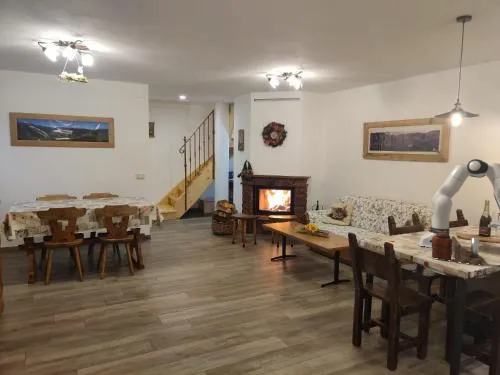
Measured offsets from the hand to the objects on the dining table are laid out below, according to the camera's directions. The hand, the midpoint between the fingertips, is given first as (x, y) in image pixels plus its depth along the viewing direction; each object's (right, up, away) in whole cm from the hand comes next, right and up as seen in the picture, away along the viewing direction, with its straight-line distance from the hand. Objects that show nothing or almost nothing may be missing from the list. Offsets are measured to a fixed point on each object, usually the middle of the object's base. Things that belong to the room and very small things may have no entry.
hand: (494, 227), depth 224 cm
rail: (-12, -22, +10) cm, 27 cm away
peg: (-13, -18, 0) cm, 22 cm away
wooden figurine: (-28, -22, +10) cm, 37 cm away
